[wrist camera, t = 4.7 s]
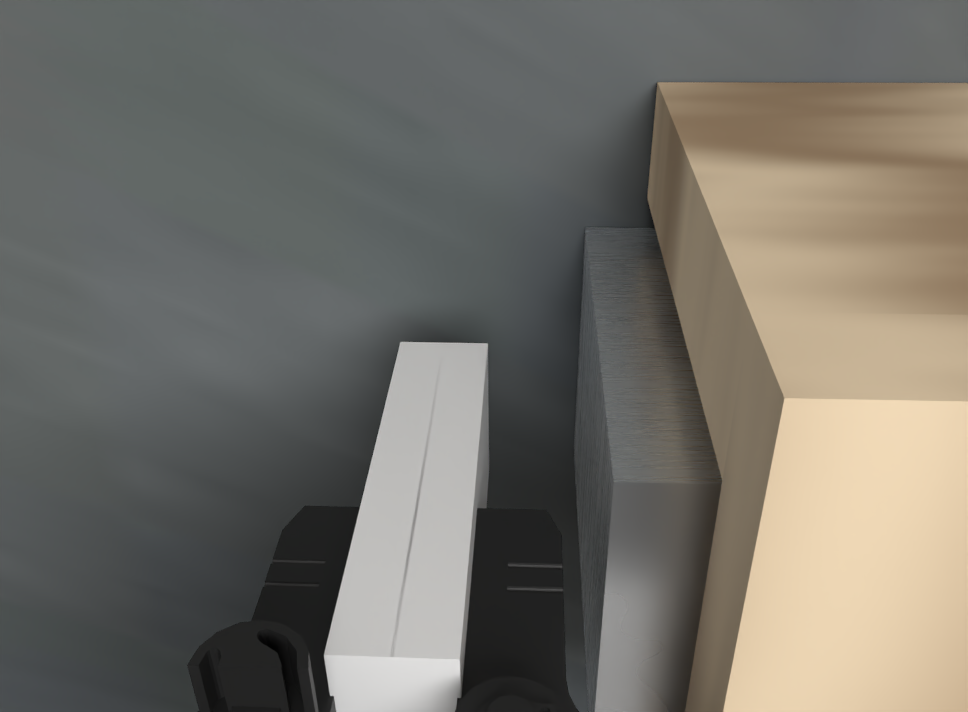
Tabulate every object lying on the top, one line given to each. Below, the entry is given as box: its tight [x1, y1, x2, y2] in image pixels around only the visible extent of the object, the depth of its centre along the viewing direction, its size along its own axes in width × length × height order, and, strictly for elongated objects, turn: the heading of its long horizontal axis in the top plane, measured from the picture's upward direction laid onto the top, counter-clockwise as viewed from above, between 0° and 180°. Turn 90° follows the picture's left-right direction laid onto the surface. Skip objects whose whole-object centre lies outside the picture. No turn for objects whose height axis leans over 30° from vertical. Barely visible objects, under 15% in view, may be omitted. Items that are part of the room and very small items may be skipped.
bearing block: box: [647, 82, 968, 712], centre depth 14 cm, size 6×10×9 cm, turn 1°
